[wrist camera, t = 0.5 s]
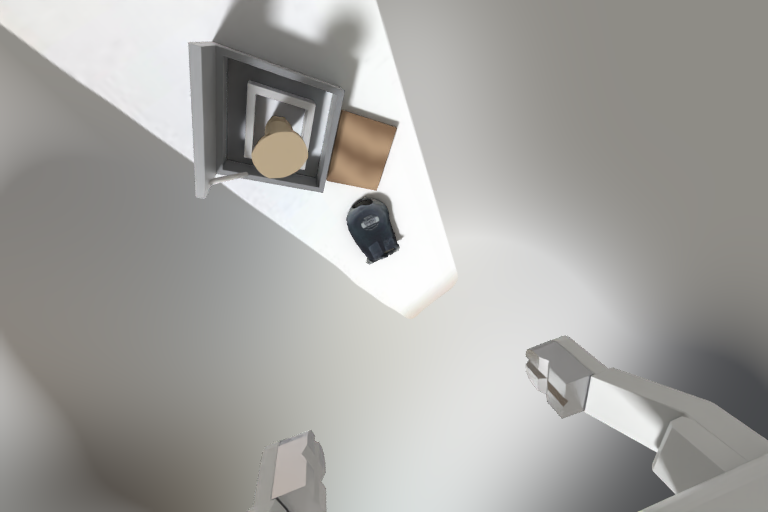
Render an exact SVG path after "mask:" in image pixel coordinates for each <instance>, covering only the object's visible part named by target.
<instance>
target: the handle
mask: <svg viewBox="0 0 768 512" xmlns="http://www.w3.org/2000/svg"><path fill="white" fill-rule="evenodd" d="M264 134H265V136H263V137H262V138H260V140H259V141H258V143H257V144H256V146H255V147H254V149H253V151H252V154H251V156H252V161H253V163H254V165H255V167H256V168H257V170H258V171H259V172H260V173H261V174H262V175H264V176H266V177H268V178H283V177H287V176H289V175H291V174H293V173H295V172H296V171H298V170H299V169H300V168H301V167H302V166H303V164H304V163H305V162H306V160H307V159H308V150H307V147H306V144H305V142H304V140H303V139H302V138H301V136H300V135H299V134H298V133H296V132H295V131H293V129H292V127H291V125H290V123H289V122H288V121H287V120H286V118H285V117H278V116H277V117H276V116H272V117H271V118H270V120H269V121H268V122H267V124H266V127H265V133H264Z"/></svg>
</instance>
